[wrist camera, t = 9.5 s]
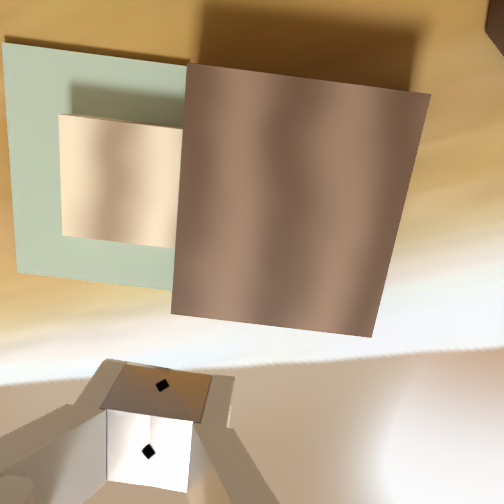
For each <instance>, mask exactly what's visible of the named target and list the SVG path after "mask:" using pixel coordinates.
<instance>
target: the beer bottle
mask: <svg viewBox="0 0 504 504" xmlns="http://www.w3.org/2000/svg"><path fill="white" fill-rule="evenodd" d="M486 33H487V35H488V36H489V37H490V39H491V40H492V41H493V43H494V44H495V45H496V47H497V48H498V49H499V51H500V52H501V53H502V55H503V56H504V0H491V1H490V7H489V14H488V20H487V26H486Z"/></svg>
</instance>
